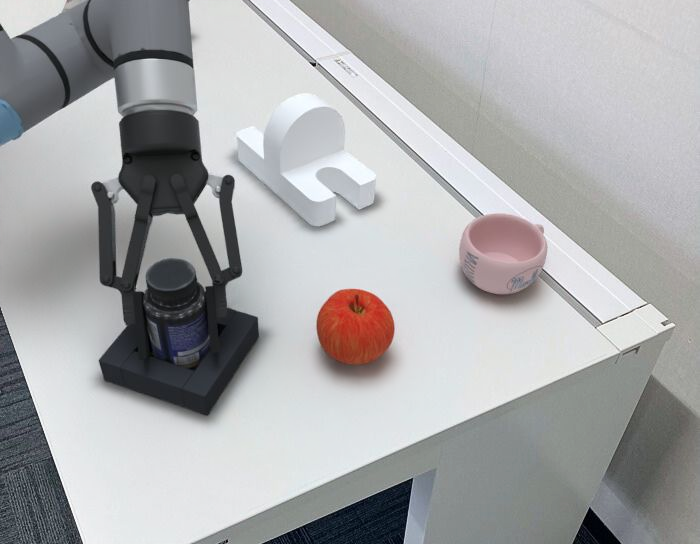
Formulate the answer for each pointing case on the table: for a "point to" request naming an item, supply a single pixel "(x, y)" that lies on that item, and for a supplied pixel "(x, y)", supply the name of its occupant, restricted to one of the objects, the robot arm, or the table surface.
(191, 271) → the pill bottle
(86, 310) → the table surface
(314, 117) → the bracket
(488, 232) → the mug
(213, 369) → the socket pad
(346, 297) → the apple
